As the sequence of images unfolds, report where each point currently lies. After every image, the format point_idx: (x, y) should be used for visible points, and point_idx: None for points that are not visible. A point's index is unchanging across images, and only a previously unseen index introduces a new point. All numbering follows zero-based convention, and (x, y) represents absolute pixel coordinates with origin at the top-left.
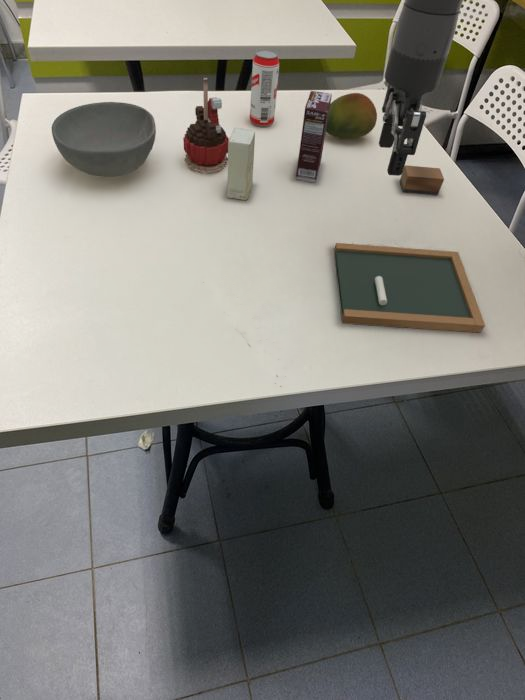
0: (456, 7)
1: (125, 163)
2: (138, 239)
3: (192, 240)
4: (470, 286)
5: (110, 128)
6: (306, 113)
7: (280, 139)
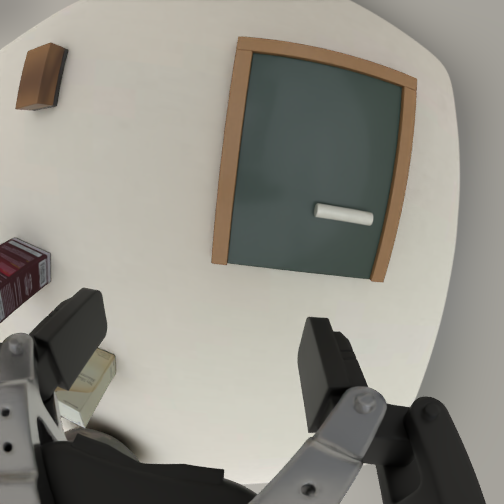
0: None
1: None
2: (211, 442)
3: (207, 412)
4: (336, 52)
5: None
6: None
7: None
